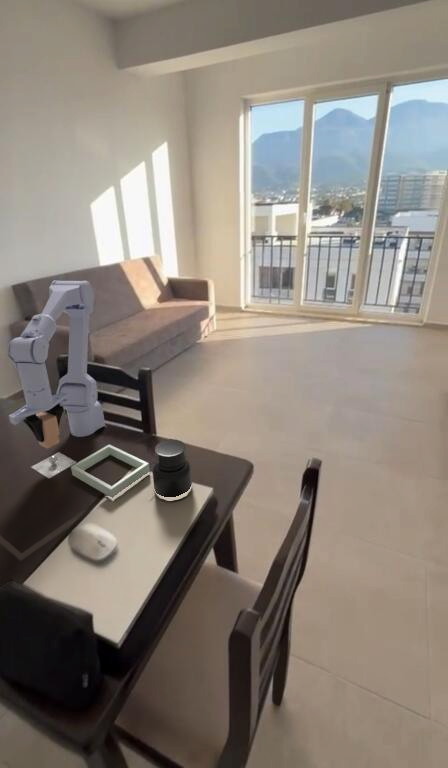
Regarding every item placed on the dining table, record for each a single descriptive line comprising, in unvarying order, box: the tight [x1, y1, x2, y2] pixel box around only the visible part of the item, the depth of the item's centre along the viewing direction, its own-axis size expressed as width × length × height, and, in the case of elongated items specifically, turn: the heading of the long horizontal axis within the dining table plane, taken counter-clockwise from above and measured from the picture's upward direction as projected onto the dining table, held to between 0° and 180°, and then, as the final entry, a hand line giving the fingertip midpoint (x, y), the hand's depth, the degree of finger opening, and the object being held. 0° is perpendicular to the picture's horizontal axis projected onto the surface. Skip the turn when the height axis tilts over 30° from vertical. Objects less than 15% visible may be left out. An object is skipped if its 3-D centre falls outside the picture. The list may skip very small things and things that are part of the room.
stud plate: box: [30, 451, 78, 479], centre depth 99 cm, size 8×8×4 cm
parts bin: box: [70, 444, 151, 498], centre depth 96 cm, size 12×15×4 cm
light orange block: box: [36, 412, 61, 449], centre depth 95 cm, size 3×5×8 cm, turn 56°
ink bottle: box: [152, 439, 193, 497], centre depth 89 cm, size 10×9×12 cm
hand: (48, 436), depth 96 cm, fingers closed on light orange block, 3 cm apart
